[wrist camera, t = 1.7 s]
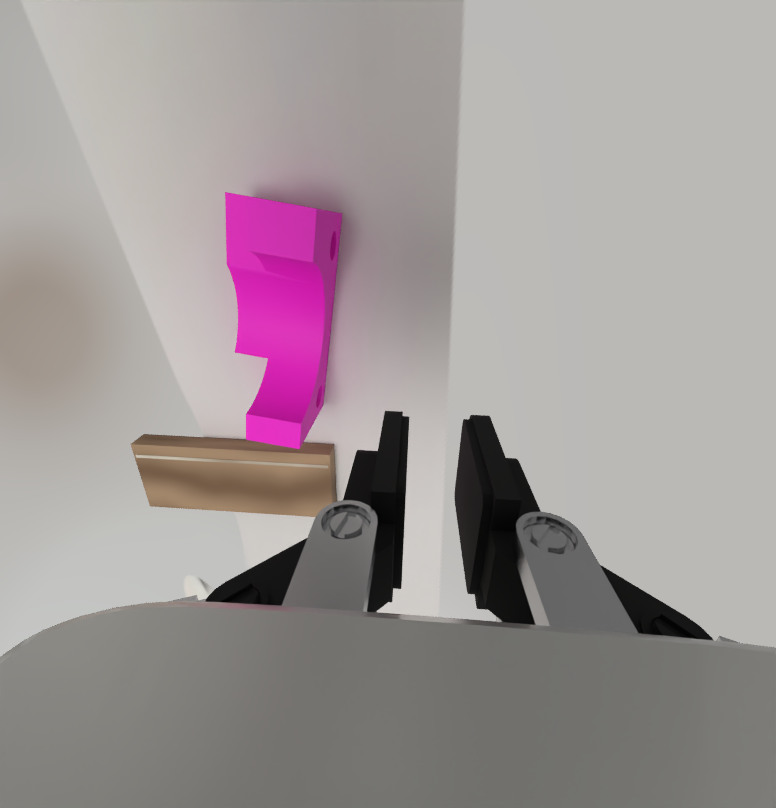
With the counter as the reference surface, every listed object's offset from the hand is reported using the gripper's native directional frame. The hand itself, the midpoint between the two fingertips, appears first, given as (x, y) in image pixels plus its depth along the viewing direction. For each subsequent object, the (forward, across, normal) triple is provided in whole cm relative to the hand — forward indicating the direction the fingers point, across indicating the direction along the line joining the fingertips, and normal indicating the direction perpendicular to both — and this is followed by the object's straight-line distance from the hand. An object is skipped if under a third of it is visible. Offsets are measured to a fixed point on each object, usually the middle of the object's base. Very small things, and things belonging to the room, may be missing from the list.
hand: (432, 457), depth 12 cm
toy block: (+20, +10, 0) cm, 22 cm away
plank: (+19, +16, +15) cm, 29 cm away
